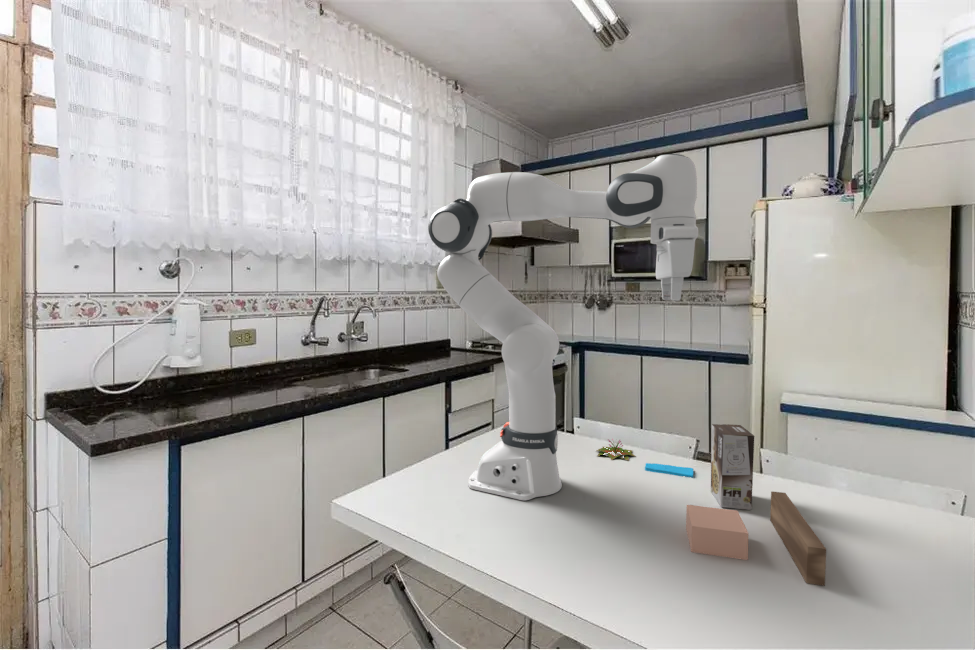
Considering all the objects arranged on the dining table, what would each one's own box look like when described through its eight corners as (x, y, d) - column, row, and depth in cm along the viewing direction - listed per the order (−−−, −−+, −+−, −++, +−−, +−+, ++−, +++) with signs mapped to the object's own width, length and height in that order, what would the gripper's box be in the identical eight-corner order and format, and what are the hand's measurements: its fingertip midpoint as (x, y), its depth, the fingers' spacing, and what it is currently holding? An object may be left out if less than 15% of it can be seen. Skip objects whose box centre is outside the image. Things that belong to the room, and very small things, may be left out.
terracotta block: (691, 553, 84) (691, 526, 84) (685, 529, 93) (686, 504, 93) (747, 561, 82) (748, 533, 81) (736, 536, 90) (737, 510, 90)
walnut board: (806, 583, 75) (807, 546, 75) (770, 520, 96) (771, 491, 96) (824, 585, 74) (826, 549, 74) (784, 521, 95) (785, 492, 95)
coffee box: (753, 510, 100) (755, 435, 99) (720, 507, 102) (722, 434, 101) (739, 492, 109) (741, 424, 108) (709, 490, 111) (711, 422, 110)
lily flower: (639, 452, 139) (639, 436, 139) (633, 465, 128) (634, 448, 128) (598, 446, 144) (598, 431, 144) (589, 458, 133) (589, 442, 133)
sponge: (646, 460, 129) (643, 465, 123) (694, 468, 123) (693, 473, 118) (646, 466, 129) (643, 471, 123) (694, 473, 123) (693, 479, 118)
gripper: (649, 240, 110) (648, 299, 111) (665, 228, 90) (663, 300, 91) (678, 239, 109) (676, 299, 110) (700, 227, 89) (698, 300, 90)
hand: (671, 300), depth 100 cm, fingers open, 8 cm apart
